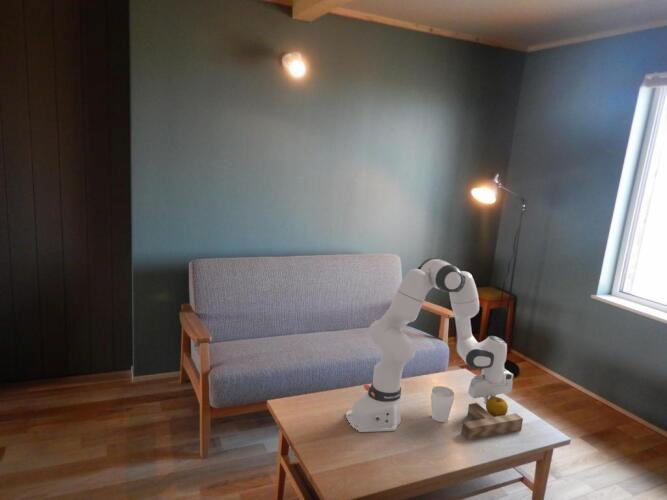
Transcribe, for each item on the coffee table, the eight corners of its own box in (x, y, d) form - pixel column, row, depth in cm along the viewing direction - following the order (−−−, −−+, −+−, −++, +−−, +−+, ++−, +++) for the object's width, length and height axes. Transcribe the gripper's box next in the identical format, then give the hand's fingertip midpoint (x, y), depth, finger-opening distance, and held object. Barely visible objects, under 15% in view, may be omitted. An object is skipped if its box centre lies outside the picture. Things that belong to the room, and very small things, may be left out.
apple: (480, 416, 193) (483, 396, 191) (492, 410, 198) (494, 391, 196) (498, 426, 186) (501, 406, 184) (510, 419, 191) (513, 400, 189)
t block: (467, 440, 175) (469, 428, 174) (445, 418, 189) (446, 407, 188) (521, 429, 184) (523, 418, 183) (496, 409, 198) (497, 399, 197)
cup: (424, 413, 191) (427, 387, 189) (442, 410, 195) (445, 384, 193) (437, 425, 183) (440, 398, 181) (455, 422, 187) (458, 395, 185)
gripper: (476, 380, 186) (472, 411, 189) (516, 374, 194) (512, 404, 196) (467, 373, 192) (463, 403, 195) (506, 367, 199) (502, 396, 202)
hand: (488, 403), depth 196 cm, fingers closed, pressing on apple
